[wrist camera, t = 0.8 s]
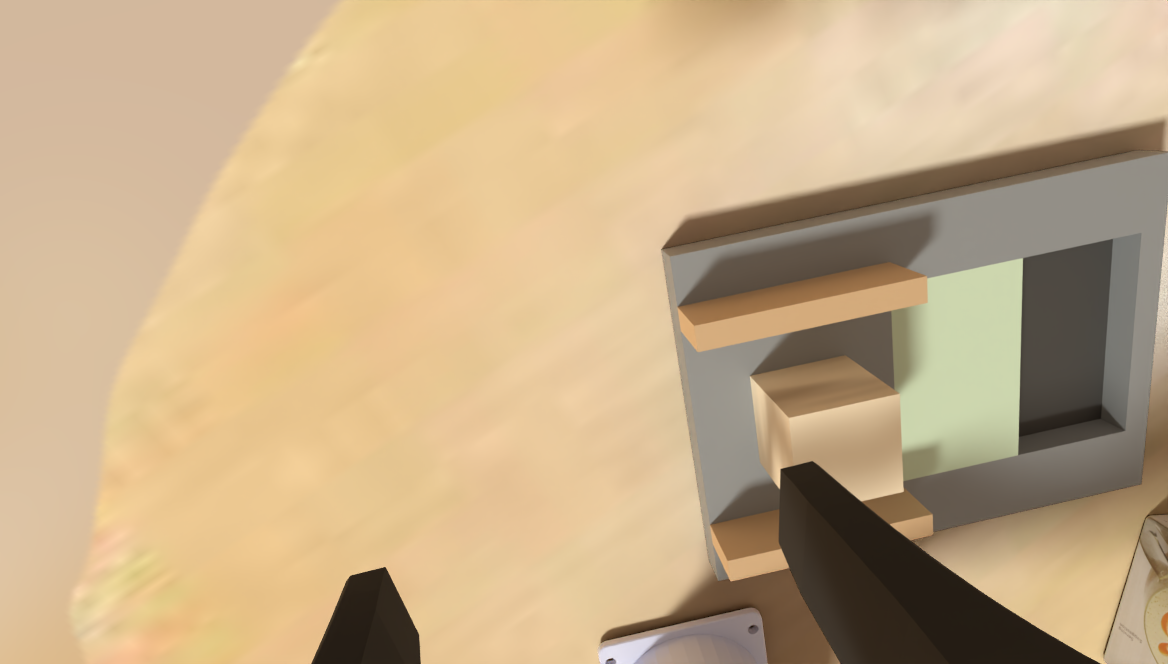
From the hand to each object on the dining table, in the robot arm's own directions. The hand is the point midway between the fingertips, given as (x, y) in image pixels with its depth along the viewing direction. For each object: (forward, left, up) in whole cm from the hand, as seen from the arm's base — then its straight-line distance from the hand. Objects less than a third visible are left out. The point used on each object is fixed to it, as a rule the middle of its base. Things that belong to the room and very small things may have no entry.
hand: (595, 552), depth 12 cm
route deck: (-6, -15, -15) cm, 22 cm away
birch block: (-6, -9, -14) cm, 18 cm away
